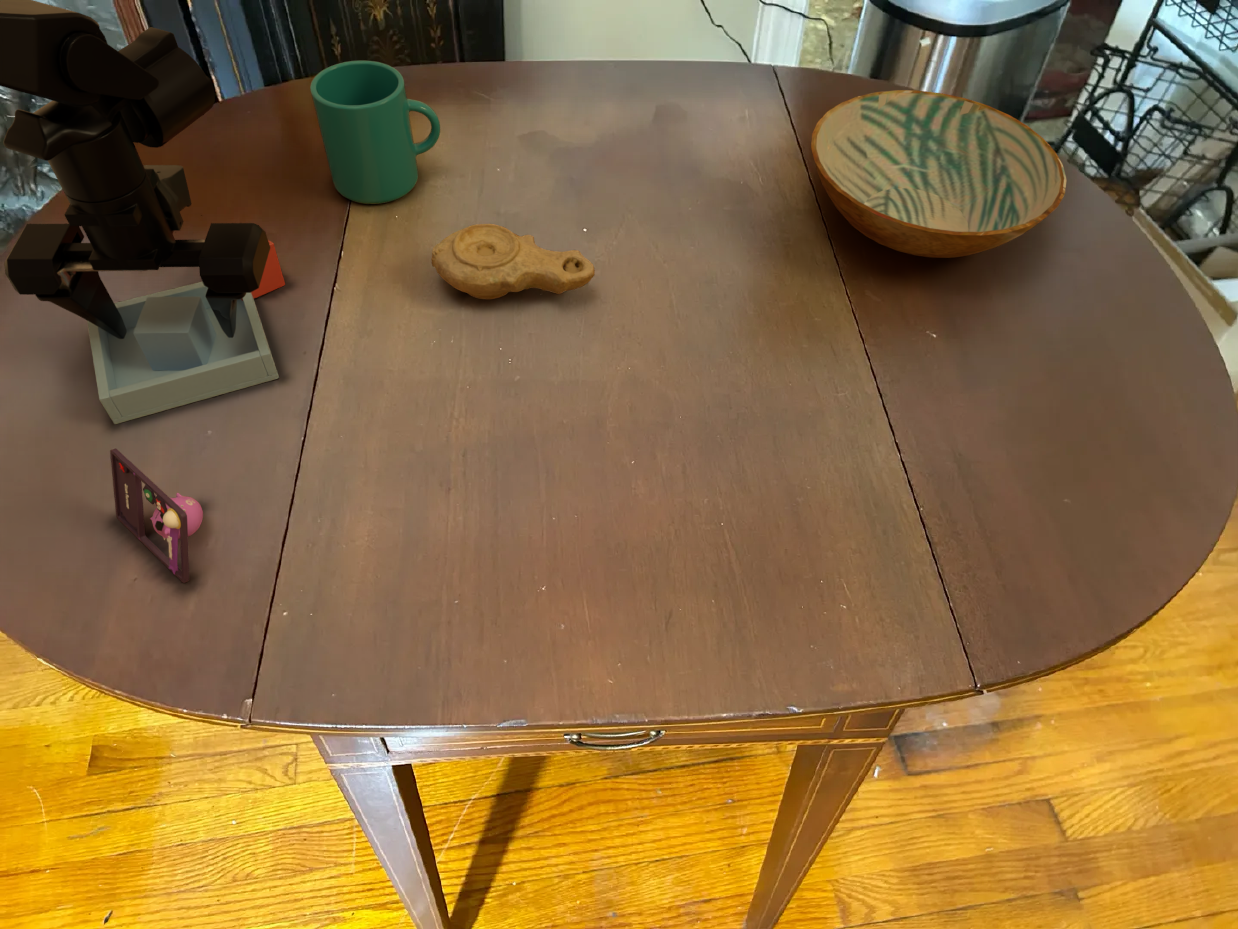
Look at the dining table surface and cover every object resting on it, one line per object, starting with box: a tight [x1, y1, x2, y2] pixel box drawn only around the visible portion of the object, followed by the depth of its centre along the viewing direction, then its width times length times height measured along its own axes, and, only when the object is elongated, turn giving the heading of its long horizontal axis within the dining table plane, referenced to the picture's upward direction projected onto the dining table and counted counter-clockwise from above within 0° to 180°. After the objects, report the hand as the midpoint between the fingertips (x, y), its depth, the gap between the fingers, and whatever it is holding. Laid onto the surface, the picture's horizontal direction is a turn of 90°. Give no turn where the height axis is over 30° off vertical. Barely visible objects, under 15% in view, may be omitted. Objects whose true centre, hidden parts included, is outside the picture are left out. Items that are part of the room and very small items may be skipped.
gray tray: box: [86, 281, 280, 425], centre depth 80 cm, size 14×12×3 cm
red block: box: [241, 239, 286, 301], centre depth 86 cm, size 4×4×4 cm
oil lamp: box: [430, 223, 596, 300], centre depth 87 cm, size 11×14×5 cm
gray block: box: [133, 297, 216, 371], centre depth 79 cm, size 4×4×4 cm
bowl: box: [810, 89, 1068, 259], centre depth 94 cm, size 25×25×8 cm
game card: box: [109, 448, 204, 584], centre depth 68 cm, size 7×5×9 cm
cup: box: [309, 60, 441, 205], centre depth 94 cm, size 9×12×11 cm
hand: (178, 334), depth 79 cm, fingers open, 9 cm apart
